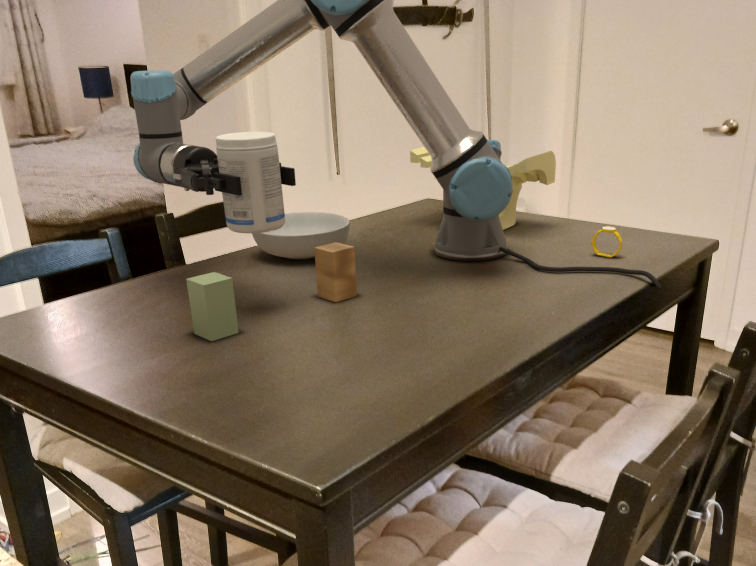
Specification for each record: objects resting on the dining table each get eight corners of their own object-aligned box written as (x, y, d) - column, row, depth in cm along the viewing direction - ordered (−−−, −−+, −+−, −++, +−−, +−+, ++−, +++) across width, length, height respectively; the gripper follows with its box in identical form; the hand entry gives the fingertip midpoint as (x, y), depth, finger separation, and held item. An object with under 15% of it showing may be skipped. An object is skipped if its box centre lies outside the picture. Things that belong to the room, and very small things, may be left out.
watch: (589, 256, 158) (591, 227, 155) (593, 253, 160) (596, 224, 157) (617, 259, 155) (620, 230, 152) (622, 256, 157) (624, 227, 154)
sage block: (221, 325, 123) (214, 271, 120) (238, 332, 120) (232, 277, 116) (194, 333, 120) (186, 278, 116) (211, 341, 117) (203, 285, 113)
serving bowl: (234, 262, 158) (230, 229, 155) (285, 239, 176) (282, 209, 173) (323, 271, 151) (320, 237, 148) (367, 246, 169) (366, 215, 166)
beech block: (339, 290, 139) (336, 241, 136) (357, 296, 136) (354, 246, 132) (317, 296, 136) (314, 247, 132) (335, 302, 133) (332, 252, 129)
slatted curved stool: (552, 225, 183) (556, 149, 176) (523, 240, 171) (526, 158, 164) (445, 213, 198) (444, 142, 191) (411, 225, 186) (410, 150, 179)
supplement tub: (276, 219, 131) (268, 129, 125) (293, 230, 123) (285, 135, 117) (220, 225, 127) (208, 133, 121) (233, 237, 120) (222, 140, 114)
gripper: (247, 180, 142) (323, 195, 128) (136, 198, 128) (207, 217, 114) (243, 139, 139) (320, 148, 125) (128, 152, 125) (201, 165, 111)
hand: (266, 181), depth 119 cm, fingers closed on supplement tub, 10 cm apart
